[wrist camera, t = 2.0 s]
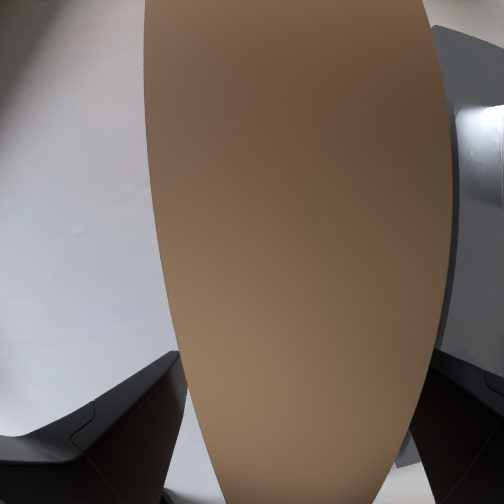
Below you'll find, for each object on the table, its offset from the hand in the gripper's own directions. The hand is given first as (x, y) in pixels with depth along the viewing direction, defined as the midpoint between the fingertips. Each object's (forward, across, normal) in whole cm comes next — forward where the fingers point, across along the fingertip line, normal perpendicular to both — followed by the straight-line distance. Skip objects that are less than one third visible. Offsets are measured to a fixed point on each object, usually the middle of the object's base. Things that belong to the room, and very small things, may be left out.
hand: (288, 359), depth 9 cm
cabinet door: (+3, 0, 0) cm, 3 cm away
